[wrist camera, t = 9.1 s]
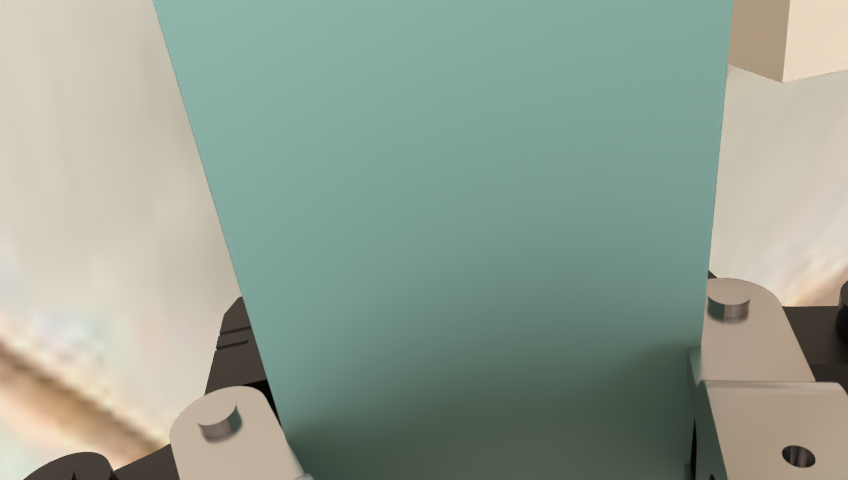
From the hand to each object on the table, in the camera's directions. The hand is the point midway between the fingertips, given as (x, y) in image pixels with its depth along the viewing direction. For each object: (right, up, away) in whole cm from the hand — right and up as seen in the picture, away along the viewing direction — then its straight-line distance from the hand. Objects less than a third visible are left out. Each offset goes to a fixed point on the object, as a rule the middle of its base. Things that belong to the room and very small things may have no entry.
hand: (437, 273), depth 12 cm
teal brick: (-1, +3, 0) cm, 3 cm away
